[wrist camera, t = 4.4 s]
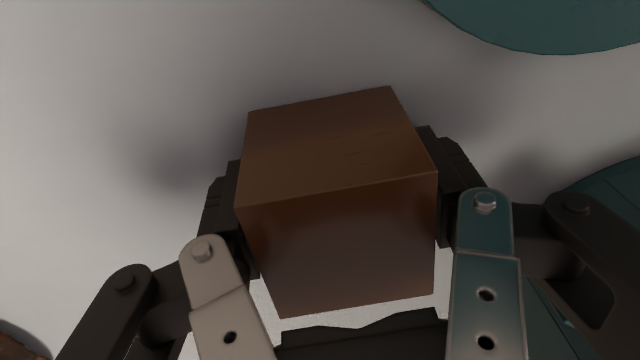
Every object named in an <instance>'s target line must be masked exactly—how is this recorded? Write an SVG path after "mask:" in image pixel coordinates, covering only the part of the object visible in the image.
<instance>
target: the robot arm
mask: <svg viewBox="0 0 640 360" xmlns="http://www.w3.org/2000/svg"><path fill="white" fill-rule="evenodd" d="M414 129H415V131H416V132H417V134H418V136H419V138H420V140H421V141H422V143H423V145H424V147H425V149H426V150H427V152H428V154H429V156H430V158H431V160H432V161H433V163H434V165H435V167H436V169H437V170H438V187H437V212H436V237H435V239H436V241H437V244H438V246H439V248H440V249H442V248H448V247H451V249H452V252H453V254H454V255H453V266H452V278H451V290H450V301H449V313H448V320H447V319H439V318H438V316H437V313H436V310H435V307H429V308H423V309H417V310H411V311H405V312H398V313H395V314H392V315H390V316H388V317H385V318H383V319H381V320H379V321H376V322H374V323H372V324H369V325H367V326H365V327H362V328H358V329H353V328H341V327H329V326H313V327H307V328H300V329H294V330H288V331H282V332H281V344H280V345H278V346H276V347H274V346H273V344H272V342H271V339H270V337H269V335H268V333H267V331H266V328H265V326H264V324H263V322H262V319H261V317H260V315H259V313H258V311H257V308H256V306H255V304H254V302H253V299H252V297H251V295H250V293H249V285H250V280H255V279H260V270H259V268H258V265H257V263H256V260H255V258H254V256H253V253H252V251H251V248H250V246H249V244H248V241H247V239H246V237H245V234H244V232H243V229H242V227H241V225H240V222H239V220H238V217H237V215H236V213H235V210H234V201H235V195H236V188H237V182H238V176H239V169H240V163H241V159H239V160H233V161H229V162H228V166H227V171H226V176H223V177H217V178H216V179H215V181H214V182H213V183H212V184H211V186H210V187H209V189H208V193H207V197H206V199H207V200H206V201H205V205H204V208H205V209H203V213H202V217H201V221H200V225H199V229H198V233H197V237H196V238H195V239H193V240H192V241H190V242H189V243H188V244H186V246H185V247H184V248H183V249H182V251H181V252H180V255H179V260H177V261H176V262H174V263H172V264H169V265H167V266H165V267H162V268H160V269H158V270H155V271H153V272H151V270H150V269H149V268H148V267H147V266H146V265H143V264H132V265H128V266H126V267H123V268H121V269H120V270H118V271H116V272H115V273H114V274H113V275H111V276H110V277H109V278H108V279H107V280H106V282H105V283H104V285H103V286H102V288H101V289H100V291H99V292H98V294H97V295H96V297H95V298H94V300H93V302H92V303H91V305H90V306H89V308H88V309H87V311H86V312H85V314H84V316H83V317H82V319H81V320H80V322H79V323H78V325H77V326H76V328H75V329H74V331H73V333H72V334H71V336H70V337H69V339H68V340H67V342H66V343H65V345H64V347H63V348H62V350H61V351H60V353H59V354H58V356H57V357H56V359H55V360H177V359H178V357H179V354H180V352H181V349H182V347H183V344H184V342H185V339H186V337H187V334H188V333H189V332H191V331H192V332H193V336H194V339H195V343H196V347H197V351H198V354H199V358H200V360H529V358H528V346H527V333H526V320H525V308H524V295H523V283H522V276H525V277H530V278H531V280H532V281H533V282H534V283H535V284H536V285H537V286H538V287H539V289H540V290H541V291H542V292H543V293H544V294H545V295H546V296H547V297H548V299H549V300H550V301H551V302H552V303H553V304H554V305H555V306H556V307H557V309H558V310H559V311H560V312H561V313H562V314H563V315H564V316H565V318H566V319H567V320H568V321H569V322H570V323H571V324H572V325H573V326H574V328H575V329H576V330H577V331H578V332H579V333H580V334H581V335H582V336H583V338H584V339H585V340H586V341H587V342H588V343H589V344H590V345H591V347H592V348H593V349H594V350H595V351H596V352H597V353H598V354H599V355H600V357H601V358H602V359H603V360H640V231H639V230H638V229H637V228H635V227H634V226H633V225H631V224H630V223H628V222H627V221H626V220H624V219H623V218H622V217H620V216H619V215H617V214H616V213H615V212H613V211H612V210H611V209H609V208H608V207H607V206H605V205H604V204H602V203H601V202H600V201H598V200H597V199H595V198H593V197H591V196H589V195H587V194H584V193H580V192H576V191H559V192H555V193H553V194H551V195H549V196H548V197H547V199H546V200H545V204H544V205H537V204H521V203H514V202H511V201H510V199H509V198H508V197H507V196H506V195H505V194H504V193H502V192H500V191H498V190H496V189H493V188H488V186H487V185H486V183H485V182H484V181H483V179H482V178H481V176H480V175H479V173H478V172H477V170H476V169H475V168H474V166H473V165H472V163H471V162H469V159H468V158H467V156H466V155H465V154H464V152H463V150H462V149H461V147H460V146H459V145H458V143H456V142H455V141H453V140H451V139H450V138H448V137H440V138H437V137H436V135H435V134H434V132H433V131H432V129H431V127H430V126H429V125H427V126H422V127H416V128H414ZM134 338H135V339H134ZM133 340H134V341H133ZM132 342H133V343H132ZM131 344H132V345H131ZM130 346H131V347H130ZM129 348H130V349H129ZM128 350H129V351H128ZM127 352H128V353H127ZM126 354H127V355H126ZM125 356H126V357H125ZM124 358H125V359H124Z"/></svg>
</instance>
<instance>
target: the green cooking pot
mask: <svg viewBox="0 0 640 360" xmlns="http://www.w3.org/2000/svg"><path fill="white" fill-rule="evenodd" d="M564 191H576V192H580V193H584V194H587V195H589V196H591V197H593V198H595V199H597V200H598V201H600V202H601V203H602V204H604V205H605V206H607V207H608V208H609V209H611V210H612V211H613V212H615V213H616V214H617V215H619V216H620V217H622V218H623V219H624V220H626V221H627V222H628V223H630V224H631V225H633V226H634V227H635V228H637V229H638V230H639V231H640V156H639V157H636V158H633V159H630V160H627V161H624V162H621V163H619V164H616V165H614V166H611V167H609V168H606V169H604V170H602V171H600V172H598V173H596V174H594V175H591V176H589V177H587V178H585V179H583V180H581V181H580V182H578V183H576V184H574V185H573V186H571V187H569V188H567V189H566V190H564ZM543 205H544V204H543ZM522 283H523V295H524V308H525V320H526V333H527V346H528V358H529V360H603V359H602V358H601V357H600V355H599V354H598V353H597V352H596V351H595V350H594V349H593V348H592V347H591V345H590V344H589V343H588V342H587V341H586V340H585V339H584V338H583V336H582V335H581V334H580V333H579V332H578V331H577V330H576V329H575V328H574V326H573V325H572V324H571V323H570V322H569V321H568V320H567V319H566V318H565V316H564V315H563V314H562V313H561V312H560V311H559V310H558V309H557V307H556V306H555V305H554V304H553V303H552V302H551V301H550V300H549V299H548V297H547V296H546V295H545V294H544V293H543V292H542V291H541V290H540V289H539V287H538V286H537V285H536V284H535V283H534V282H533V281H532V280H531V278H530V277H525V276H522Z"/></svg>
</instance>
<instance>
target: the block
mask: <svg viewBox="0 0 640 360" xmlns="http://www.w3.org/2000/svg"><path fill="white" fill-rule="evenodd" d="M437 187H438V170H437V169H436V167H435V165H434V163H433V161H432V160H431V158H430V156H429V154H428V152H427V150H426V149H425V147H424V145H423V143H422V141H421V140H420V138H419V136H418V134H417V132H416V131H415V129H414V127H413V125H412V123H411V122H410V120H409V118H408V116H407V114H406V112H405V111H404V109H403V107H402V105H401V103H400V102H399V100H398V98H397V96H396V94H395V93H394V91H393V89H392V87H391V86H384V87H379V88H374V89H368V90H363V91H358V92H352V93H347V94H342V95H336V96H331V97H326V98H320V99H315V100H310V101H304V102H299V103H294V104H288V105H283V106H278V107H272V108H267V109H262V110H256V111H251V112H249V113H248V119H247V125H246V131H245V138H244V144H243V150H242V157H241V163H240V169H239V176H238V182H237V188H236V195H235V201H234V210H235V213H236V215H237V217H238V220H239V222H240V225H241V227H242V229H243V232H244V234H245V237H246V239H247V241H248V244H249V246H250V248H251V251H252V253H253V256H254V258H255V260H256V263H257V265H258V268H259V270H260V272H261V275H262V277H263V279H264V282H265V284H266V287H267V289H268V291H269V294H270V296H271V299H272V301H273V303H274V306H275V308H276V311H277V313H278V315H279V318H280V319H285V318H291V317H297V316H303V315H310V314H316V313H322V312H328V311H334V310H340V309H346V308H352V307H358V306H364V305H370V304H376V303H383V302H389V301H395V300H401V299H407V298H413V297H419V296H425V295H431V294H433V287H434V262H435V237H436V212H437Z"/></svg>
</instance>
